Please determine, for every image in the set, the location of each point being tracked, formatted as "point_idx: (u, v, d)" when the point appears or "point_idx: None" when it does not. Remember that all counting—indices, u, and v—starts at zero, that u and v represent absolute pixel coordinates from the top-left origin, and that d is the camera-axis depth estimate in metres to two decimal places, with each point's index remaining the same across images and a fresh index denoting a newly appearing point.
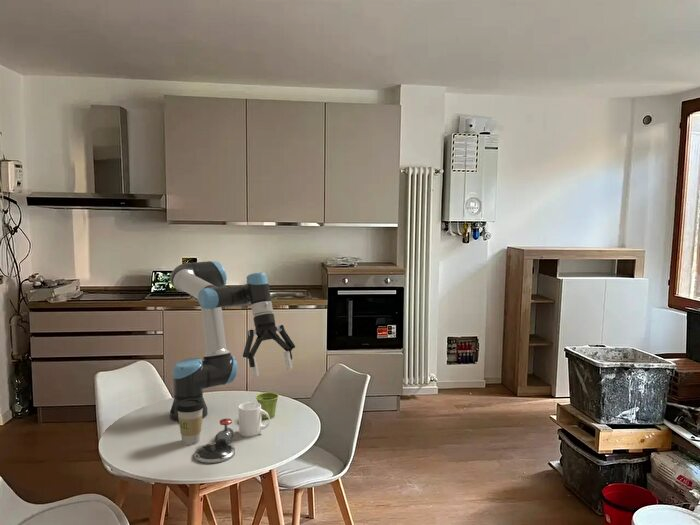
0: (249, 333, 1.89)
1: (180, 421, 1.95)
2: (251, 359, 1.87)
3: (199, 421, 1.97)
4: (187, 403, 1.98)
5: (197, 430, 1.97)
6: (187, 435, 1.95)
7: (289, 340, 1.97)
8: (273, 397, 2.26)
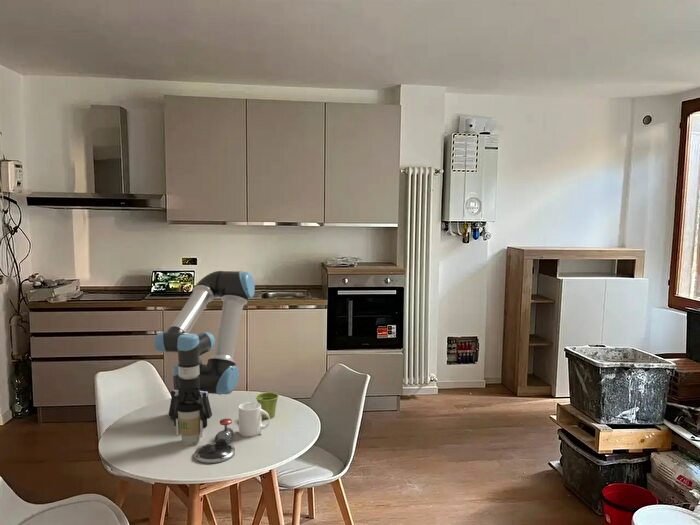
0: None
1: (180, 421, 1.95)
2: (174, 419, 1.98)
3: (199, 421, 1.97)
4: (187, 403, 1.98)
5: (197, 430, 1.97)
6: (187, 435, 1.95)
7: (206, 409, 1.96)
8: (273, 397, 2.26)
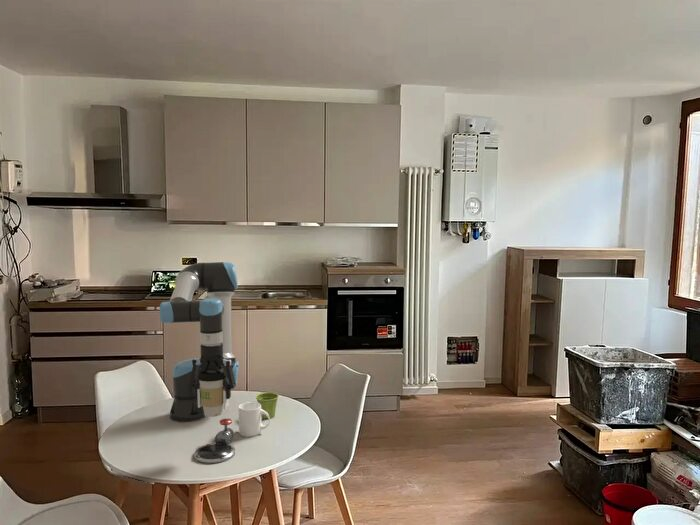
0: None
1: (202, 391, 1.83)
2: (196, 390, 1.86)
3: (222, 391, 1.84)
4: (209, 372, 1.86)
5: (220, 401, 1.84)
6: (210, 406, 1.83)
7: (229, 379, 1.84)
8: (273, 397, 2.26)
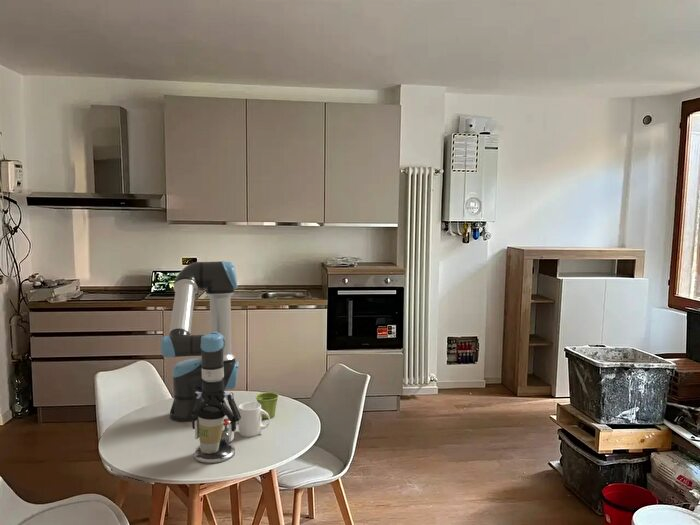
0: None
1: (200, 428, 1.85)
2: (193, 421, 1.88)
3: (220, 429, 1.87)
4: (208, 409, 1.88)
5: (217, 438, 1.86)
6: (207, 443, 1.85)
7: (233, 412, 1.85)
8: (273, 397, 2.26)
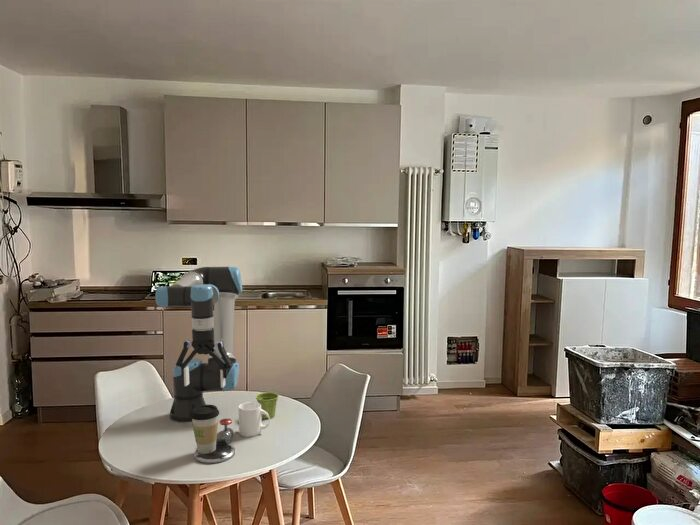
0: None
1: (195, 429, 1.85)
2: (182, 369, 1.92)
3: (215, 428, 1.87)
4: (201, 409, 1.88)
5: (213, 438, 1.87)
6: (204, 443, 1.85)
7: (224, 359, 1.89)
8: (273, 397, 2.26)
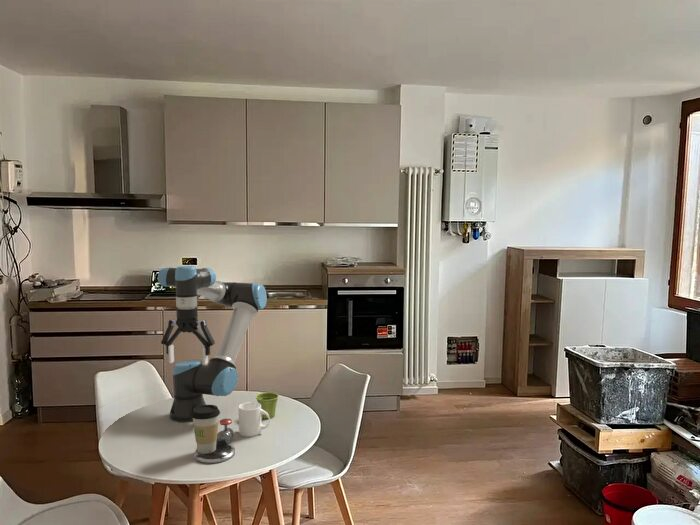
0: None
1: (196, 429, 1.85)
2: (167, 347, 2.00)
3: (215, 428, 1.87)
4: (202, 409, 1.88)
5: (213, 438, 1.87)
6: (204, 443, 1.85)
7: (207, 337, 1.97)
8: (273, 397, 2.26)
